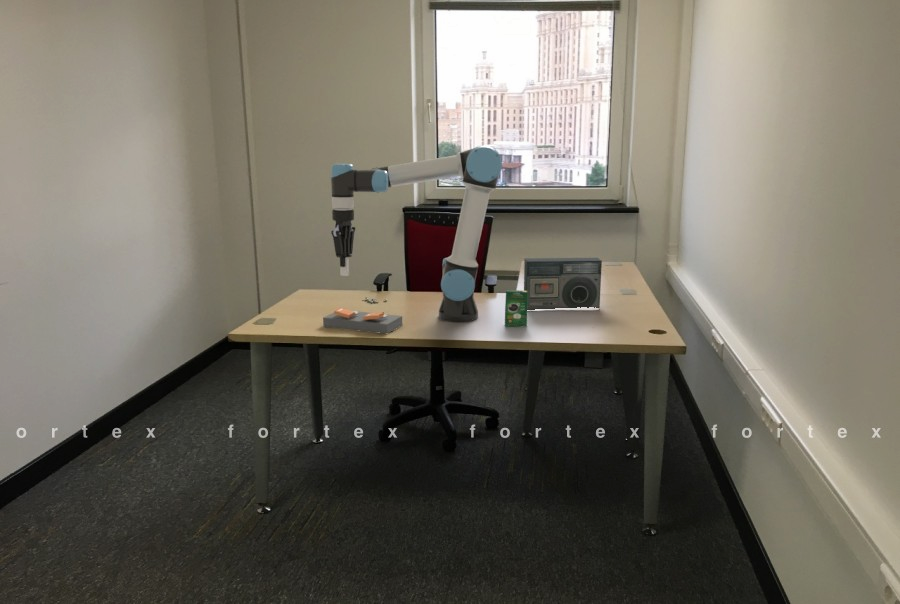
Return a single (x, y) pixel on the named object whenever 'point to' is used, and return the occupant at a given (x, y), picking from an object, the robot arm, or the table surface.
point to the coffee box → (516, 308)
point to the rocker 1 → (344, 312)
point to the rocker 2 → (373, 315)
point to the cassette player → (562, 282)
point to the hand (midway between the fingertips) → (344, 275)
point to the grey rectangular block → (363, 322)
